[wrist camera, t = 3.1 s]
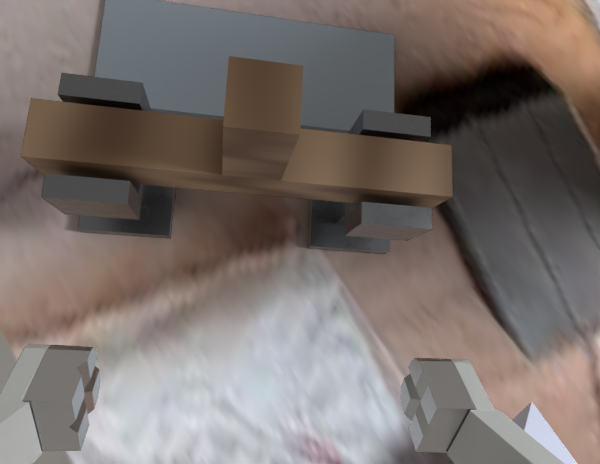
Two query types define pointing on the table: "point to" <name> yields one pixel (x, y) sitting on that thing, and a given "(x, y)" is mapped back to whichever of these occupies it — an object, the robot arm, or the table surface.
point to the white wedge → (542, 433)
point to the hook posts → (160, 200)
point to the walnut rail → (238, 147)
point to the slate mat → (246, 44)
